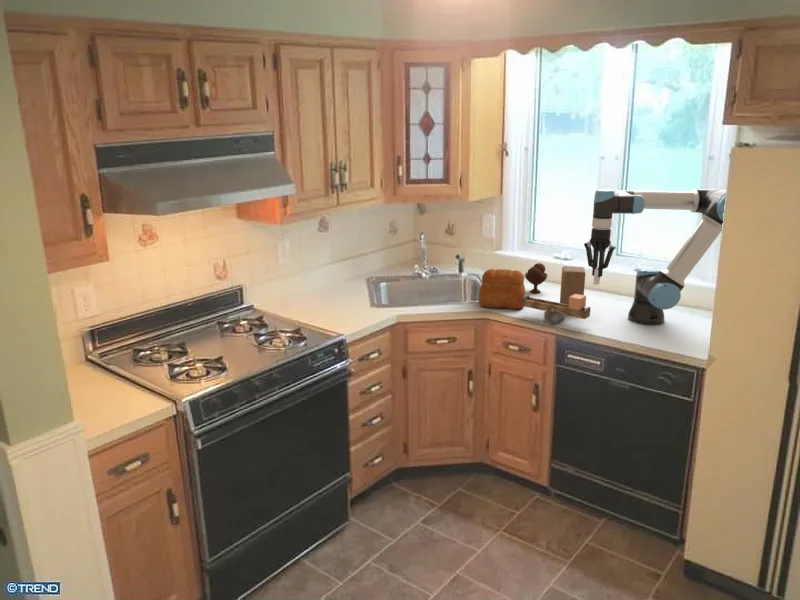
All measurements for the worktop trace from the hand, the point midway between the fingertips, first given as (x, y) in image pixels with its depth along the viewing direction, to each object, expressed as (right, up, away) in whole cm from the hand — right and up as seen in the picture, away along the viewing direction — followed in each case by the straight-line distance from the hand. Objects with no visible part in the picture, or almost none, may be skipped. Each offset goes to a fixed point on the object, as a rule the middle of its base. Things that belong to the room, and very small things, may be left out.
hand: (596, 283), depth 284 cm
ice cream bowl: (-13, -3, +60) cm, 62 cm away
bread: (-33, -9, +41) cm, 54 cm away
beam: (-14, -16, +17) cm, 27 cm away
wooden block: (-3, -12, +32) cm, 34 cm away
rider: (-6, -11, +9) cm, 15 cm away
